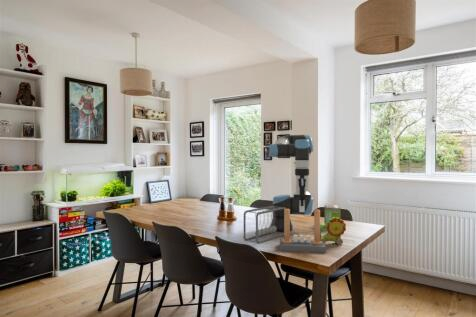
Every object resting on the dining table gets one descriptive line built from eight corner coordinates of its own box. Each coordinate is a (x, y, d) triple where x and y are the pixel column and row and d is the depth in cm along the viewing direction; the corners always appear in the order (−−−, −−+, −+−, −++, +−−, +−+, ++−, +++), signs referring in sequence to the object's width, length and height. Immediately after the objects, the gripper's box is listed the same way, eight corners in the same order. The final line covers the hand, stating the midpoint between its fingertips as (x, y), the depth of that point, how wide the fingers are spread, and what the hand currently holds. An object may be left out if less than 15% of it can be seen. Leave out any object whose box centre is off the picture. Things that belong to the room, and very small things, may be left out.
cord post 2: (312, 242, 176) (312, 209, 176) (321, 242, 175) (321, 209, 175) (312, 244, 171) (312, 210, 171) (322, 245, 170) (322, 211, 170)
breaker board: (279, 244, 182) (279, 239, 182) (323, 246, 178) (323, 240, 178) (279, 250, 170) (279, 245, 170) (326, 252, 166) (326, 247, 166)
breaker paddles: (293, 241, 176) (293, 234, 176) (310, 242, 174) (310, 235, 174) (293, 242, 174) (293, 235, 174) (310, 243, 173) (310, 236, 172)
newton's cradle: (273, 232, 212) (273, 205, 212) (286, 234, 205) (286, 206, 204) (243, 241, 190) (243, 211, 189) (257, 244, 183) (257, 213, 182)
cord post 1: (282, 240, 178) (282, 208, 178) (291, 241, 177) (291, 208, 177) (282, 243, 173) (282, 209, 173) (291, 243, 173) (291, 210, 172)
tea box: (340, 229, 218) (340, 207, 218) (325, 228, 220) (325, 207, 220) (338, 224, 233) (338, 204, 233) (324, 224, 235) (324, 204, 235)
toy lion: (319, 245, 180) (319, 218, 180) (316, 242, 186) (316, 216, 186) (347, 245, 181) (347, 218, 181) (343, 242, 186) (343, 216, 186)
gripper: (294, 167, 181) (294, 209, 181) (295, 168, 168) (295, 213, 168) (308, 167, 180) (308, 209, 180) (309, 168, 167) (309, 214, 167)
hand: (301, 211), depth 174 cm, fingers closed
